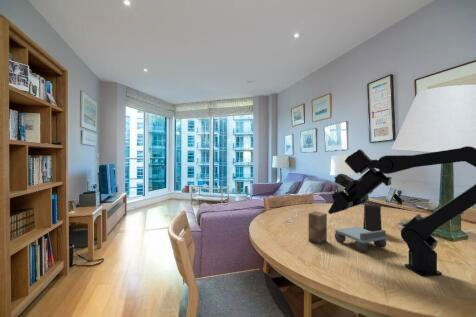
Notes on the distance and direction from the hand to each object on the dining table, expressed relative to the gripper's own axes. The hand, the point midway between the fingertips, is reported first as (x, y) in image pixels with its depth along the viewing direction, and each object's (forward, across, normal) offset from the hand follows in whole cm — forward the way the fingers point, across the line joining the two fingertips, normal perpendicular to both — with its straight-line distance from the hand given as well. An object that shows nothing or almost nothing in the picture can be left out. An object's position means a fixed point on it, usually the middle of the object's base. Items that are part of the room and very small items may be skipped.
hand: (334, 210), depth 92 cm
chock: (+14, 0, +4) cm, 15 cm away
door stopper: (+7, -27, +12) cm, 30 cm away
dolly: (+5, -8, +13) cm, 16 cm away
